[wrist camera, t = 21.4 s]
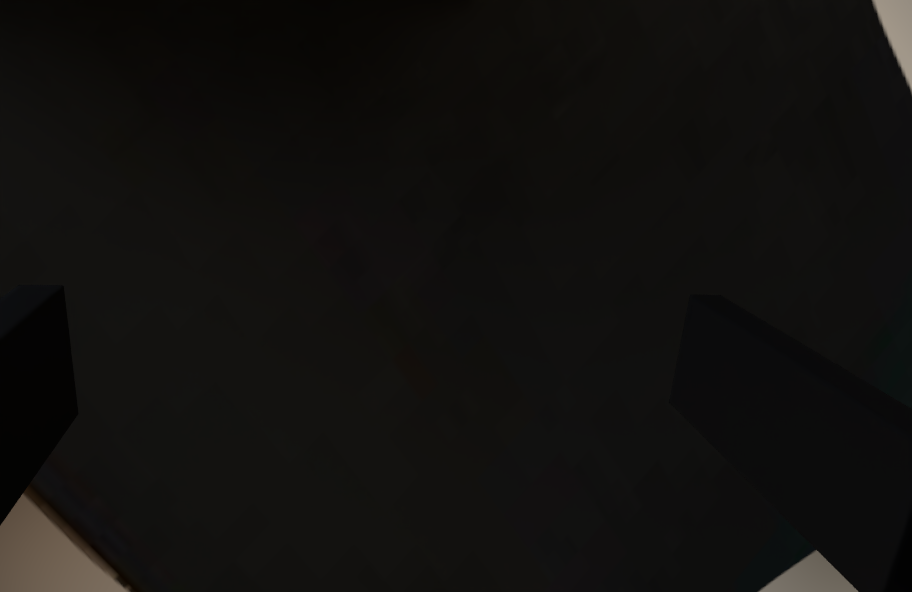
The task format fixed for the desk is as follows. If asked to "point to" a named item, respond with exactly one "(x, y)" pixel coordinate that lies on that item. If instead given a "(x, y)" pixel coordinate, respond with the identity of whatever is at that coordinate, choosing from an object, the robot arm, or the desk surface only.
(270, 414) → the desk surface
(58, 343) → the robot arm
